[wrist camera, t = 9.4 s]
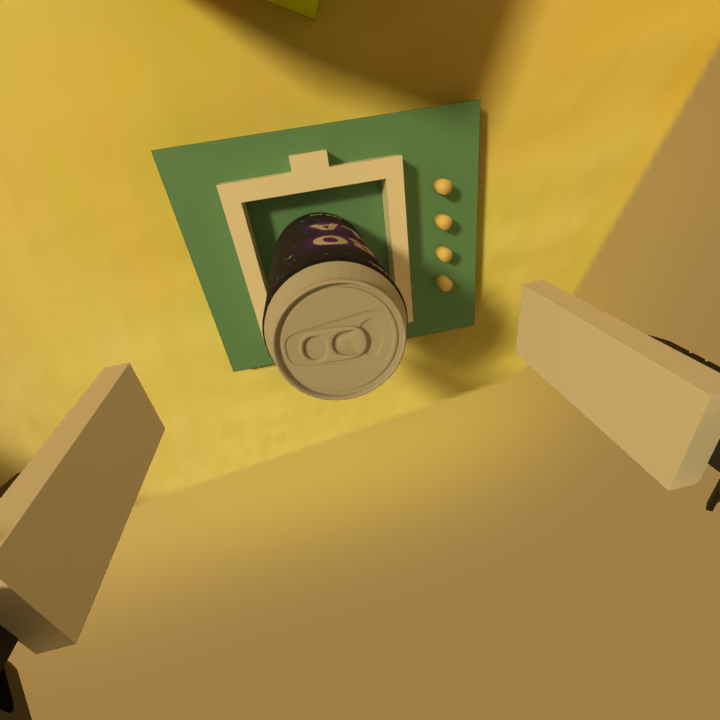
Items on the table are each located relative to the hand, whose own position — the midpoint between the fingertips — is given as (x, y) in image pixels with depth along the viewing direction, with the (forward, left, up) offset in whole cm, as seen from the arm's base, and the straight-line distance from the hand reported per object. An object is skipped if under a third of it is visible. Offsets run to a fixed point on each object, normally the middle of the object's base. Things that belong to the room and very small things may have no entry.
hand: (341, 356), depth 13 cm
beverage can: (0, 0, -13) cm, 13 cm away
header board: (+1, 0, -14) cm, 14 cm away
